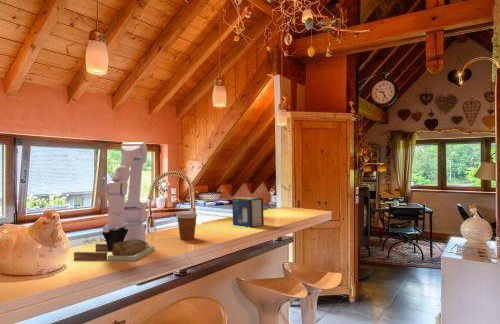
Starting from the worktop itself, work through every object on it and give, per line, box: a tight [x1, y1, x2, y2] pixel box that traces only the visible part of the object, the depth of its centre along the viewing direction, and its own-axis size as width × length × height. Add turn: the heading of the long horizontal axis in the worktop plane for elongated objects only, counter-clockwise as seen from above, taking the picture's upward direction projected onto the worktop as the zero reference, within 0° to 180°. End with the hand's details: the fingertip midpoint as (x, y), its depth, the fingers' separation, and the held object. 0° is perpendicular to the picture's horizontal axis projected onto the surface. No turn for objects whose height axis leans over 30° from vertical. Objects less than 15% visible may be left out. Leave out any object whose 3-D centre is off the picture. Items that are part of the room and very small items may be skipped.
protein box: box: [231, 196, 265, 228], centre depth 202 cm, size 10×15×16 cm
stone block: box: [111, 239, 146, 256], centre depth 133 cm, size 6×12×5 cm, turn 147°
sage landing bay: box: [107, 245, 156, 262], centre depth 135 cm, size 17×10×2 cm, turn 173°
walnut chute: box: [73, 243, 109, 261], centre depth 136 cm, size 15×12×2 cm
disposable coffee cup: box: [176, 211, 198, 241], centre depth 165 cm, size 10×10×12 cm
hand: (115, 249), depth 134 cm, fingers open, 5 cm apart
